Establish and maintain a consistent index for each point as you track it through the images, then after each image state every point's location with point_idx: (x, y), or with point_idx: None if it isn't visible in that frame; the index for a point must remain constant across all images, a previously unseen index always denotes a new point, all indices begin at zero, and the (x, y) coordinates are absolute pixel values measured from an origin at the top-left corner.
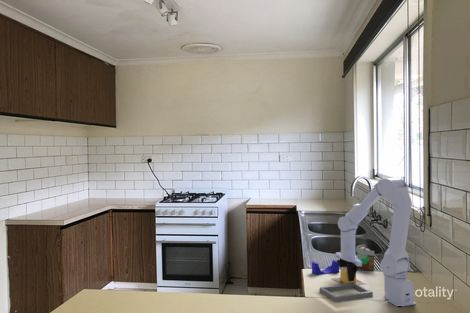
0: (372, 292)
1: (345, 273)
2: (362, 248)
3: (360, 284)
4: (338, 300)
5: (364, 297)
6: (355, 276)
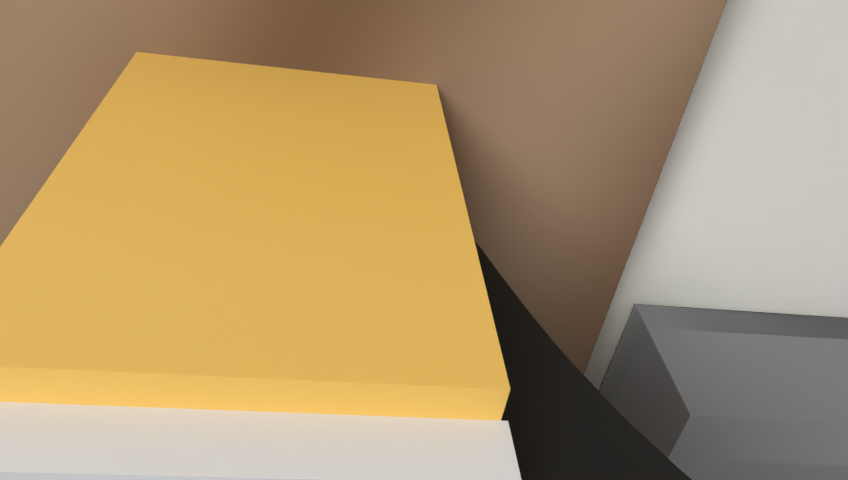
0: None
1: None
2: None
3: (652, 121)
4: None
5: None
6: (457, 208)
